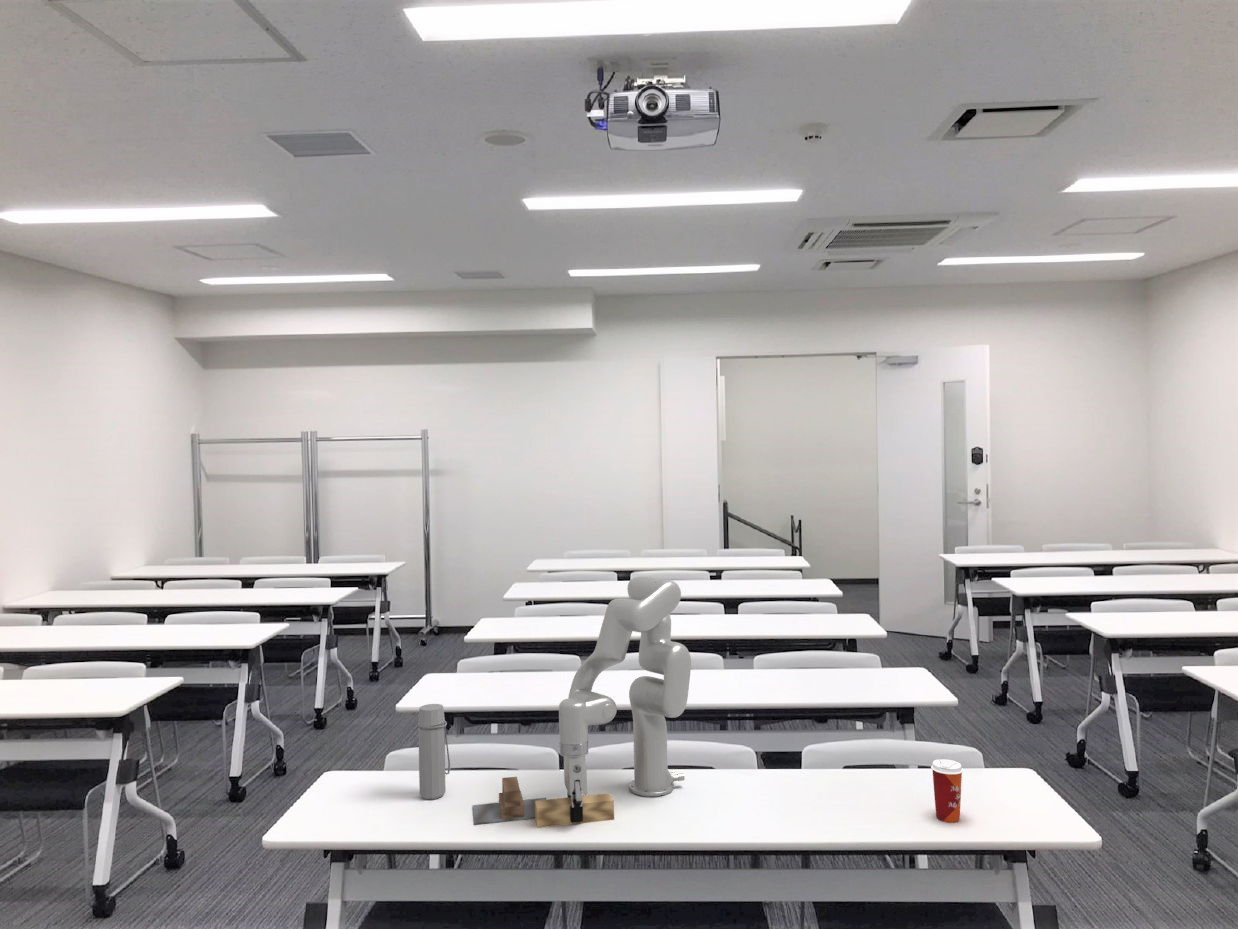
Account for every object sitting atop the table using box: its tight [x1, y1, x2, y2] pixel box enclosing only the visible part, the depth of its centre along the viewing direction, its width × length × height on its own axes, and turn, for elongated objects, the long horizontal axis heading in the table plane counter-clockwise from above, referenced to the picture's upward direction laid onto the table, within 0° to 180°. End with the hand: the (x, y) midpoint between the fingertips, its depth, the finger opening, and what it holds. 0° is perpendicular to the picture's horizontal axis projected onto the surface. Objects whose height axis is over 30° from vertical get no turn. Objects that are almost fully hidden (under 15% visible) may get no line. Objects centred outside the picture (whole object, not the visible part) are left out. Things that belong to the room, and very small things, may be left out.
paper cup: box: [930, 758, 964, 824], centre depth 216 cm, size 8×8×14 cm
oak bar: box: [534, 792, 615, 829], centre depth 219 cm, size 20×5×5 cm, turn 102°
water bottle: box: [417, 703, 451, 800], centre depth 237 cm, size 9×8×25 cm
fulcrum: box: [472, 776, 548, 826], centre depth 225 cm, size 20×12×7 cm, turn 102°
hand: (574, 816), depth 219 cm, fingers closed on oak bar, 5 cm apart
